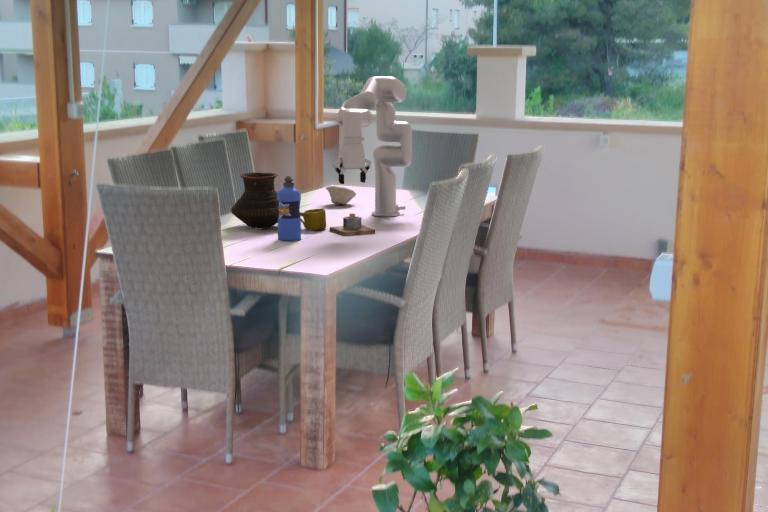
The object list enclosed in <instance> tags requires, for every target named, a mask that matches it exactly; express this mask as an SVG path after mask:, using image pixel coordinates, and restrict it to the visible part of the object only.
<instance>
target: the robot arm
mask: <svg viewBox="0 0 768 512" xmlns="http://www.w3.org/2000/svg"><path fill="white" fill-rule="evenodd" d="M407 93H408V92H407V88H406V85H405V84H404V83H403V82H402V81H401V80H400V79H398V78H397V77H396V76H395V77H394V76H385V75H384V76H383V75H381V76H380V75H379V76H377V75H375V76H370V77H369V78H368V79H367V80H366V81H365V83H364V85H363V87H362V89H361V91H360V93H358V94H356V95H354V96H352V97H350V98H348V99H346V100H345V101H344V102H343V103H342V104H341V106H340V108H339V110H338V112H337V117H336V118H337V123H338V124H339V125H340V126H341V127H342V144H341V145H340V147H339V153H338V154H339V155H338V159H337V160H336V161H334V162H333V163H332V167H333V169H334V170H335V172H336V173H337V174H338V183H339V184H340V185H344V184H345V174H344V173H345V171H346V170H360V171H361V172H360V173H359V174H360V175H359V178H360V179H359V182H360V183H364V184H365V183H366V180H367V172H368V171H369V169H370V168H371V166H372V160H369V159H367V158H365V149H364V144H362V142H364V141H365V138H364V137H362V128H368V127H369V126H370V125H371V124H372V122H373V119H374V118H373V113H372V112H371V110H372V109H374V108H375V111H376V112H375V114H376V115H375V116H376V120H375V122H376V123H375V124H376V129H375V130H376V138H377V140H378V141H379V142H382V143H384V142H385V143H396V144H397V143H399V145H394V144H393V145H390V144H381V145H378V146H376V147H375V148H374V149H373V151H372V157H373V158H372V159H373V164H374V187H375V188H374V210H373V211H372V212H371V215H372V216H375V217H397V216H400V210H401V211H403V210H406V205H399V204H397V175H396V173H395V171H394V169H393V167H395V168H407V167H409V166H411V164H412V160H413V130H412V126H411V124H410V123H409V122H408V121H405V120H403V121H402V120H396V108H395V106H394V105H393V103H402V102H404V101H405V99H407Z"/></svg>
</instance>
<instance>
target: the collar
mask: <svg viewBox="0 0 768 512" xmlns="http://www.w3.org/2000/svg"><path fill="white" fill-rule="evenodd" d="M362 218H363V217H362V216H355V219H349V216H344V217H343V218H342V226H343V229H346V230H357V229H361V228H362V226H363V225H362V221H363V220H362Z"/></svg>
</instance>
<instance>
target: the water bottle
mask: <svg viewBox="0 0 768 512" xmlns="http://www.w3.org/2000/svg"><path fill="white" fill-rule="evenodd" d="M276 192H277V200H278V208H279V212H278V223H277V240H278V241H280V242H285V241H286V242H291V243H293V242H298V241H301V240H302V233H301V232H302V227H301V226H302V224H301V223H302V222H301V219H302V218H301V217H302V216H300V212H301V211H300V208H301V200H302V195H301V194H302V192H301V191H300V190H298V189H297V188H295V181H294V178H293V177H292V176H290V175H289V176H285V178H283V187H282V188H281V189H280V190H277V191H276Z"/></svg>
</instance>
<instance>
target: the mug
mask: <svg viewBox="0 0 768 512" xmlns="http://www.w3.org/2000/svg"><path fill="white" fill-rule="evenodd" d="M326 214H327V213H326V209H325V208H313V209H306V210H305V211H304V212H302V211H300V217H302V218H303V219H302V218H301V223H302V224H303V226H304V228H305V230H308V231H313V232H314V231H315V232H318V231H322V230H326V228H327V217H326Z"/></svg>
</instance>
